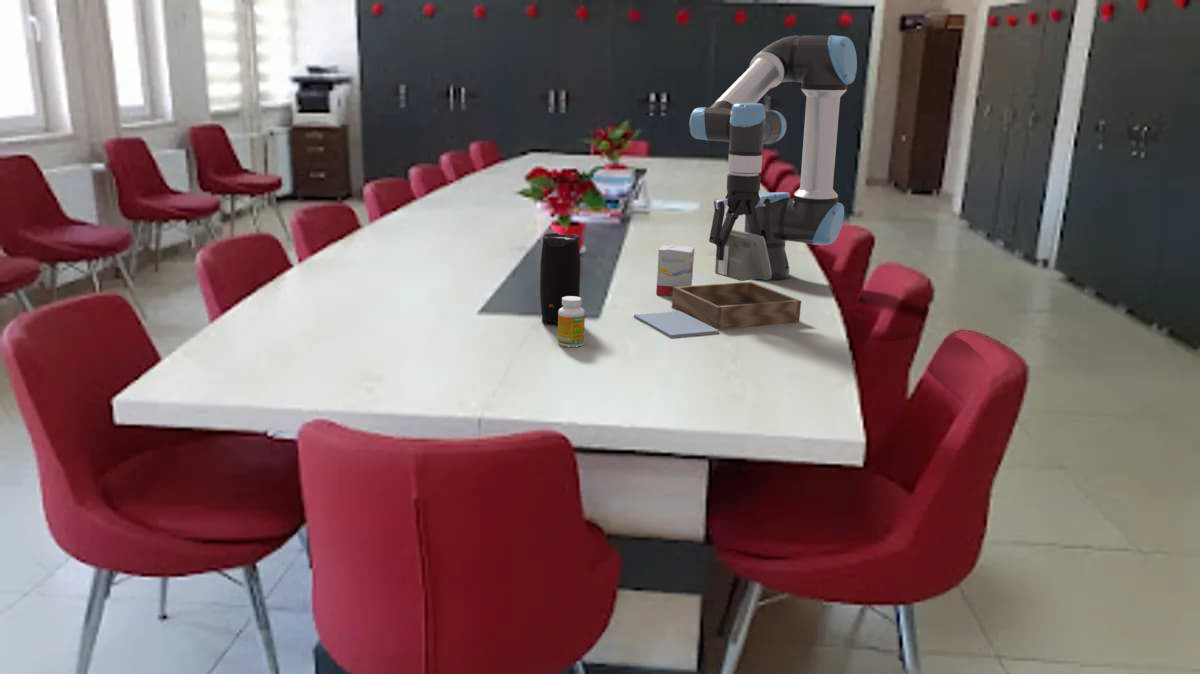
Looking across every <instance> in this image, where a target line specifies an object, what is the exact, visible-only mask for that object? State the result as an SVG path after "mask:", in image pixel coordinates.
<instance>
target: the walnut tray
mask: <svg viewBox="0 0 1200 674" xmlns="http://www.w3.org/2000/svg"><path fill="white" fill-rule="evenodd" d="M671 301H672V302H671V307H672V308H673V309H674V310H676V311H681V312H683V313H685V314H687V315H689V316H691V317H693V318H695V319H697V320H699V321H701V322H703V323H705V324H707V325H709V326H711V327H713V328H715V329H717V330H724V329H727V330H728V329H736V328H746V327H755V326H756V327H757V326H768V325H770V326H771V325H778V324H779V325H780V324H790V323H791V324H792V323H799V322H800V319H801V318H800V317H801V316H800V315H801V306H802V300H800V299H798V298H795V297H793V296H790V295H787V294H786V293H782V292H779V291H777V290H774V289H772V288H770V287H767V286H765V285H761V284H759V283H756V282H755V281H754V282H753V281H739V282H730V283H729V282H728V283H727V282H725V283H714V284H713V283H712V284H710V283H709V284H698V285H697V284H696V285H692V286H681V287H673V296H672V299H671Z"/></svg>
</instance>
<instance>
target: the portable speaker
mask: <svg viewBox="0 0 1200 674" xmlns="http://www.w3.org/2000/svg"><path fill="white" fill-rule="evenodd" d="M579 241H580V237H579V235H578V234H576V233H571V234H563V233H562V234H561V233H560V234H559V233H558V232H548V233H545V234H544V235H543V237H542V245H541V254H540V263H539V264H540V273H539V274H540V276H539V277H540V279H539V281H540V282H539V297H540V308H541V309H540V311H541V322H542V323H543V324H544V323H547V324H548V322H551V323H556V324H558V311H559V309H560V308H562V307H563V305H562V298H563V297H566V296H576V297H581V295H580V293H581V292H580V291H581V288H580V287H581V284H580V283H581V256H580V245H579V244H580V243H579Z"/></svg>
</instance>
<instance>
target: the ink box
mask: <svg viewBox="0 0 1200 674" xmlns="http://www.w3.org/2000/svg"><path fill="white" fill-rule="evenodd" d="M694 259H695V247H694V246H682V245H674V244H669V245H668V244H662V246H660V248H659V249H658V258H657V275H656V277H657V278H656V292H655V295H657V296H667V297H673V287H681V286H693V273H694Z"/></svg>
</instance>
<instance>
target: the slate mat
mask: <svg viewBox="0 0 1200 674" xmlns="http://www.w3.org/2000/svg"><path fill="white" fill-rule="evenodd" d="M633 318H635V319H636V320H638V321H640V322H641V323H642V324H645V325H647V326H649V327H650V328H652V329H654V330H655V331H657V332H659V333H661V334H662V335H665V336H666V337H668V338H670V339H672V338H671V337H674V338H682V337H681V336H685V337H692V336H693V337H694V336H704V335H717V334H720V329H715V328H713V327H711V326H709V325H707V324H705V323H703V322H701V321H699V320H697V319H695V318H693V317H691V316H689V315H687V314H685V313H683V312H681V311H678V310H676V311H663V312H653V313H652V312H651V313H642V314H641V313H640V314H633Z"/></svg>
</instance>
